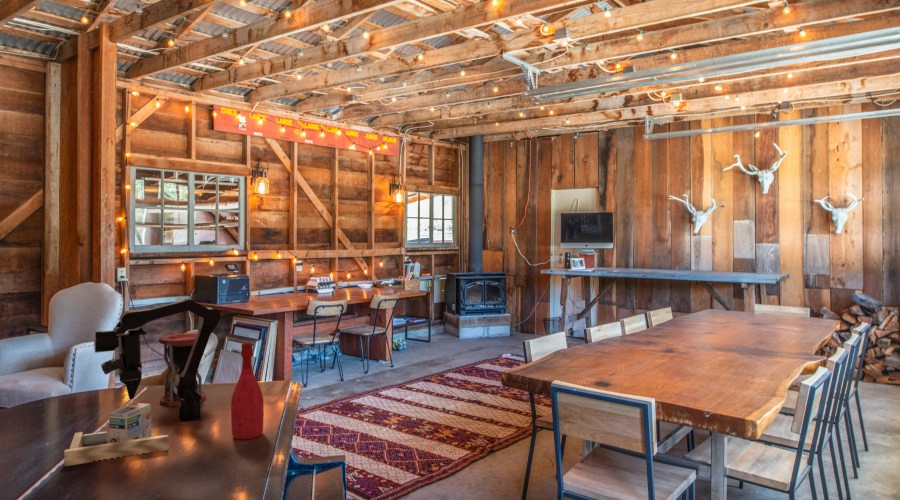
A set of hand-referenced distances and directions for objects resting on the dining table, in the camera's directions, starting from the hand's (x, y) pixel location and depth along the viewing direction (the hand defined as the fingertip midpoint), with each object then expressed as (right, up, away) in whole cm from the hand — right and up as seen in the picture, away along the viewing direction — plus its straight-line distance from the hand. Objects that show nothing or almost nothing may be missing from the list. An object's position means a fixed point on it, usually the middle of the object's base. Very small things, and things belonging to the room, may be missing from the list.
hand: (131, 395), depth 193 cm
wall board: (+6, -11, -18) cm, 22 cm away
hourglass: (+2, -10, +32) cm, 34 cm away
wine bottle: (+41, -11, -7) cm, 43 cm away
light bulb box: (+7, -12, -13) cm, 18 cm away
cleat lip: (-4, -11, -14) cm, 18 cm away
